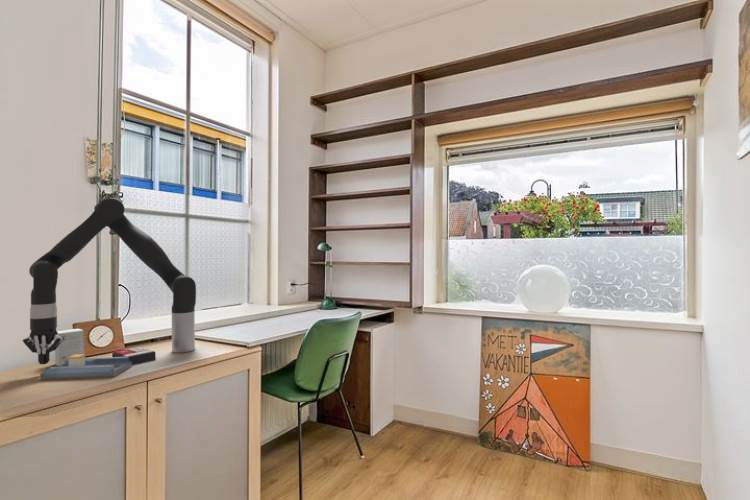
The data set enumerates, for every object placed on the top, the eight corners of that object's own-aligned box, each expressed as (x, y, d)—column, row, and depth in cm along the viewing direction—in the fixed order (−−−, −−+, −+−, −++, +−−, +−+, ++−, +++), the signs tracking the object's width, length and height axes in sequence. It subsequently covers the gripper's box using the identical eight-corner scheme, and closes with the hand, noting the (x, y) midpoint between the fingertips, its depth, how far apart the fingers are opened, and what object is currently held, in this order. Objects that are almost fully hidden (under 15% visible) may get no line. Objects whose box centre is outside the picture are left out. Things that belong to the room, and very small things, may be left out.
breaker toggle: (74, 365, 147) (74, 354, 147) (85, 365, 147) (85, 354, 147) (68, 368, 143) (68, 357, 143) (79, 368, 144) (79, 356, 144)
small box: (79, 359, 163) (79, 327, 163) (84, 362, 159) (83, 330, 159) (54, 364, 157) (54, 331, 157) (58, 367, 153) (58, 333, 153)
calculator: (140, 346, 172) (155, 349, 163) (140, 356, 172) (156, 360, 163) (111, 351, 164) (125, 355, 154) (111, 361, 163) (126, 366, 154)
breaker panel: (65, 368, 151) (65, 358, 151) (132, 366, 154) (132, 356, 154) (40, 380, 138) (40, 369, 138) (114, 377, 141) (113, 366, 141)
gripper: (70, 314, 149) (70, 360, 149) (31, 314, 147) (31, 361, 147) (56, 317, 141) (56, 366, 141) (15, 318, 140) (15, 367, 140)
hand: (43, 363), depth 144 cm, fingers closed
